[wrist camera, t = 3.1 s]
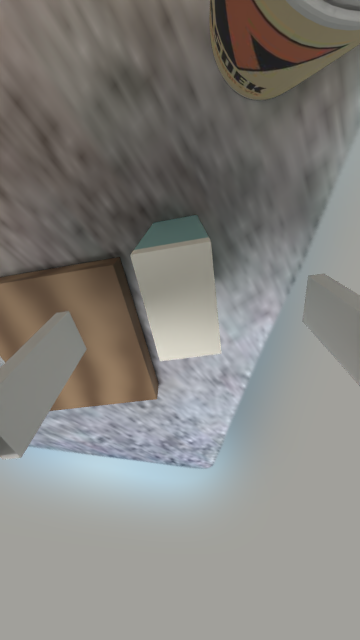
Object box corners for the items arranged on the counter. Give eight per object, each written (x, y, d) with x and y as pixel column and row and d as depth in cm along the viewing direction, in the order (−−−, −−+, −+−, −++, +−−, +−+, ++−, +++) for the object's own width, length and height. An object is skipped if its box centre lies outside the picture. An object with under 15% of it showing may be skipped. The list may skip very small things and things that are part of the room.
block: (168, 292, 24) (159, 361, 15) (153, 222, 20) (130, 255, 11) (205, 286, 24) (221, 353, 14) (196, 214, 20) (210, 241, 11)
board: (51, 396, 33) (42, 411, 31) (-28, 282, 24) (-48, 291, 21) (158, 384, 31) (156, 399, 29) (119, 257, 22) (112, 264, 20)
